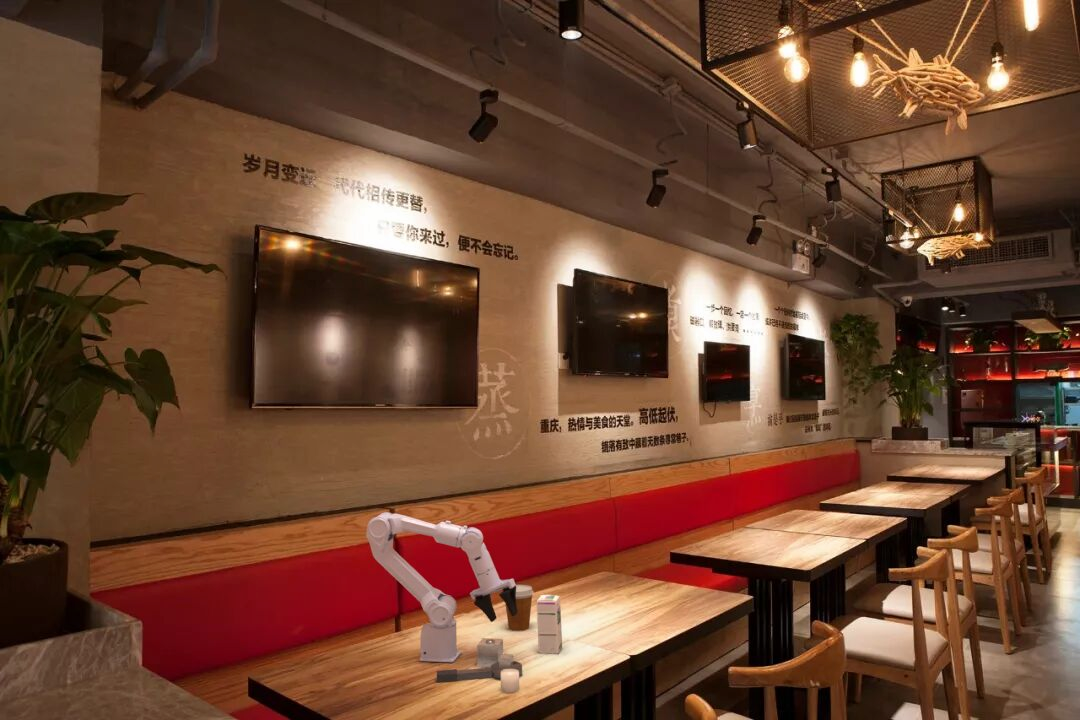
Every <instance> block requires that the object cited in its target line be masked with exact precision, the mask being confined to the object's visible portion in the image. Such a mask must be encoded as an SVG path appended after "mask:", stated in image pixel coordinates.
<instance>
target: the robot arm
mask: <svg viewBox="0 0 1080 720" xmlns="http://www.w3.org/2000/svg"><path fill="white" fill-rule="evenodd" d="M402 532H409V533H413V534H418V535H423V536H429V537H433V539H434V541H435V542H436V543H439V544H441V545H442V544H443V545H447V546H450V547H454V548H461V550H462V551H463V552H465V553H466V555H467V557H468V562H469V564H470V566H471V568H472V571H473V573H474V575H475V578H476V580H477V583H478V586H479V587H478V588H477V589H474V590H472V591H471V592H470V593H469V595H470V597H471V599H472V600H474V602H473V604H474V606H476V607H478V608H479V609H480V610H481V611H482V612H483V613H484V615H485V616H486V617H487V619H488V620H489V621H490V623H493V622H494V621H496V620H497V614H496V611H495V609H494V606H493V603H492V599H491V594H494V593H497V592H500V593H499V595H498V596H499V597H500V598H501V599H502V600H503V602H504V603H505V606H506V605H507V607H508V609H509V612H510V614H511V615H512V616H515V615H516V614H517V613H518V611H517V605H516V585H517V584H516V582H515V579H514V578H510V579H500V576H499V573H498V572H497V570H496V567H495V565H494V562H493V560H492V557H491V555H490V552H489V551H488V549H487V546H486V544H485V542H483V541H484V535H483V533H482V531H481V530H480V529H478V528H476V527H473V526H471V527H470V526H469V527H468V525H466V524H465V525H463V526H461V525H458V524H453V523H452V521H450V520H445V521H440V522H439V523H437V524H434V523H431V522H427V521H424V520H421V519H418V518H414V517H411V516H408V515H403V514H399V513H392V512H388V511H385V512H382V513H380V514H378V515H377V516H375V517H373V518H371V519H370V520H369V522H368V523H367V526H366V532H365V533H366V534H365V536H366V538H367V540H368V542H369V546H370V549H371V553H372V556H373V558H374V559H375V561H376V562H377V563H378V564H380V565H381V567H383V568H384V570H385V571H387V572H388V573H389V574H390V575H391V576H392V577H393V578H395V580H396V581H398V583H400V584H401V585H402V586H403V587H404V588H405V589H406V590H407V591H408V592H409V593H410V594H411V595H412V596H413V597H414V598H416V601H418V602H419V603H420V605H421V607H422V609H423V612H425V614H427V617H428V619H429V623H428V622H427V623H424V624H423V625H422V627H421V629H420V638H419V639H420V644H419V645H420V658H419V661H420V662H434V663H454V662H455V661H456V660H457V659H458V658H459V656H461V654H462V650H457V649H458V648H457V647H458V646H457V620H456V619H455V617H454V614H455V613H456V611H457V606H458V605H457V601H456V599H455V598H453V597H452V595H448V594H445V593H444V592H443V591H441V590H440V589H438V588H436V587H433V586H432V585H431V584H430V583H429V582H428V581H427V580H426V579H425V578H424V576H422V575H421V574H420V573H419V572H418V571H417V570H416V569H415V568H414V567H413V566H411V565H410V564H409V562H407V561H406V560H405V558H403V557H402V556H401V555H399V553H398V552H397V551H396V550H395V549H394V547H393V545H394V536H395V534H396V535H397V534H399V533H402ZM501 591H502V592H501Z"/></svg>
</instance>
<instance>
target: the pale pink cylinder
mask: <svg viewBox="0 0 1080 720" xmlns="http://www.w3.org/2000/svg"><path fill="white" fill-rule="evenodd" d="M519 690H520V677H519V671H518V670H516V669H505V670H502V671H501V680H500V691H501V692H503V693H506V694H508V693H509V694H512V693H517V692H519Z"/></svg>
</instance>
